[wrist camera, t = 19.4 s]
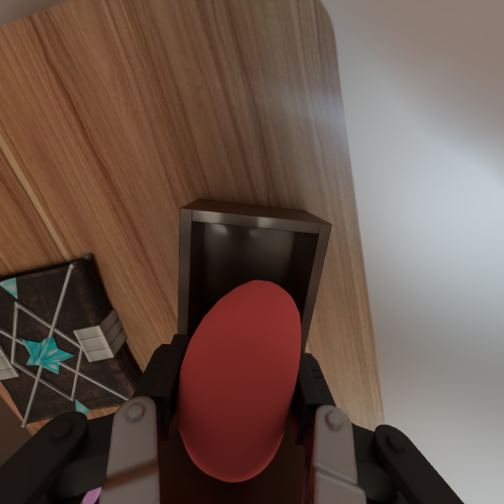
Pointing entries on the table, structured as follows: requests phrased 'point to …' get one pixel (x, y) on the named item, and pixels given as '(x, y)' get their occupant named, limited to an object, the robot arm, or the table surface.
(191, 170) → the table surface
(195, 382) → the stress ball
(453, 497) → the robot arm
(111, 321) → the book
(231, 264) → the chest
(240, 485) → the lid
